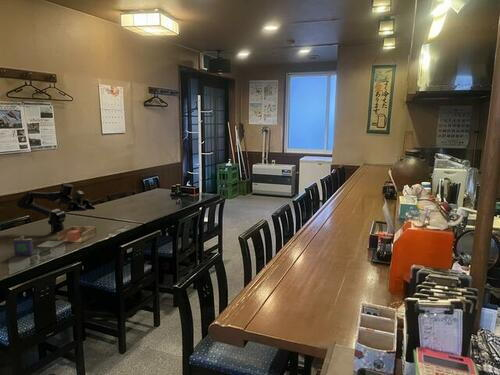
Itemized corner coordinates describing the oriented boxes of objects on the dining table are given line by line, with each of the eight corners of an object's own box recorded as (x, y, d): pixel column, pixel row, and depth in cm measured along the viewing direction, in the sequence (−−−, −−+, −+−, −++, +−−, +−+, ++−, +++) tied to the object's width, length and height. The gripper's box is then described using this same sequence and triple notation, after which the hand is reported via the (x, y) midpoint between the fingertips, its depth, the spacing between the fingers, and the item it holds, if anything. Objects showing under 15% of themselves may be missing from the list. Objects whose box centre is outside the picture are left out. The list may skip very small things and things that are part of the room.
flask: (34, 254, 192) (32, 235, 190) (31, 256, 189) (29, 236, 188) (16, 254, 191) (14, 235, 190) (13, 256, 189) (11, 237, 187)
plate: (36, 248, 202) (36, 246, 202) (47, 242, 212) (47, 240, 212) (53, 248, 201) (53, 247, 201) (63, 243, 211) (63, 241, 211)
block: (67, 240, 212) (66, 232, 211) (72, 238, 217) (71, 230, 216) (75, 241, 212) (75, 232, 211) (80, 238, 217) (79, 230, 216)
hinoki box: (57, 242, 212) (57, 232, 211) (72, 235, 226) (71, 226, 225) (83, 243, 211) (83, 233, 210) (96, 235, 225) (95, 226, 224)
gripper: (62, 189, 217) (85, 198, 215) (81, 188, 235) (102, 196, 233) (57, 207, 218) (79, 215, 216) (77, 204, 236) (97, 212, 234)
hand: (90, 209), depth 225 cm, fingers open, 9 cm apart
